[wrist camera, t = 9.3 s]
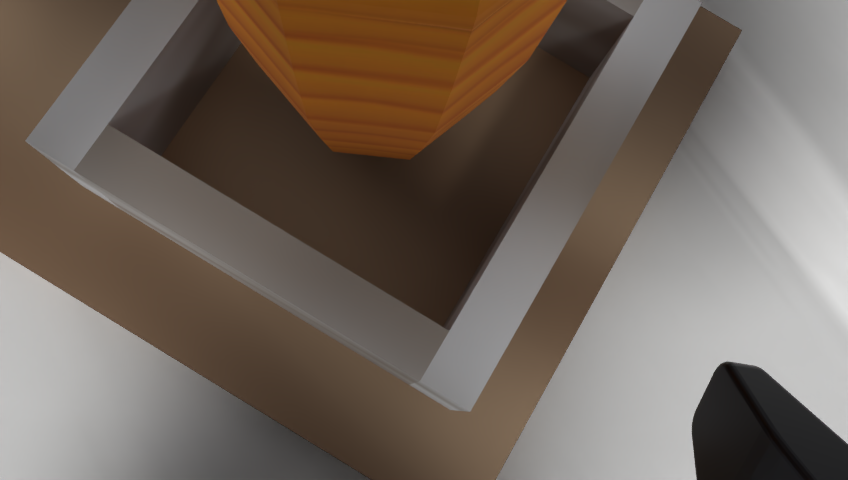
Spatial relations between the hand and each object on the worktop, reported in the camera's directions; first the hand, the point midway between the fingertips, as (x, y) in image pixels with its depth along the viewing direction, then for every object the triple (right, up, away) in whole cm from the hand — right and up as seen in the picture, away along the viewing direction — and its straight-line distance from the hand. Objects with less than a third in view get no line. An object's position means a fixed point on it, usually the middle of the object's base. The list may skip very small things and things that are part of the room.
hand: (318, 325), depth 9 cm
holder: (-2, +4, +10) cm, 11 cm away
